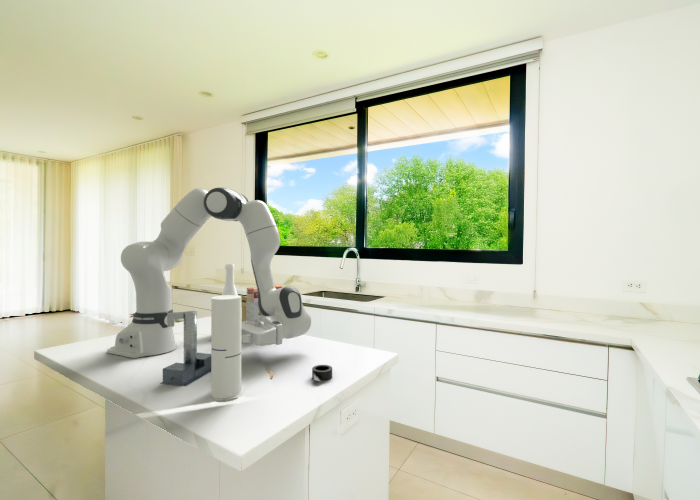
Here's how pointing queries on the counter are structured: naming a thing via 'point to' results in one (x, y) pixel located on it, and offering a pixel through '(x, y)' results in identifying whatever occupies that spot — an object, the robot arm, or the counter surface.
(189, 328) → the brushed metal post
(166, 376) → the vise
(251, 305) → the cracker box
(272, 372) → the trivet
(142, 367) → the counter surface
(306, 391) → the counter surface
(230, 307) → the cylindrical container
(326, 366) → the black round winged cup
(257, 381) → the counter surface
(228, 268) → the white long rounded piece
